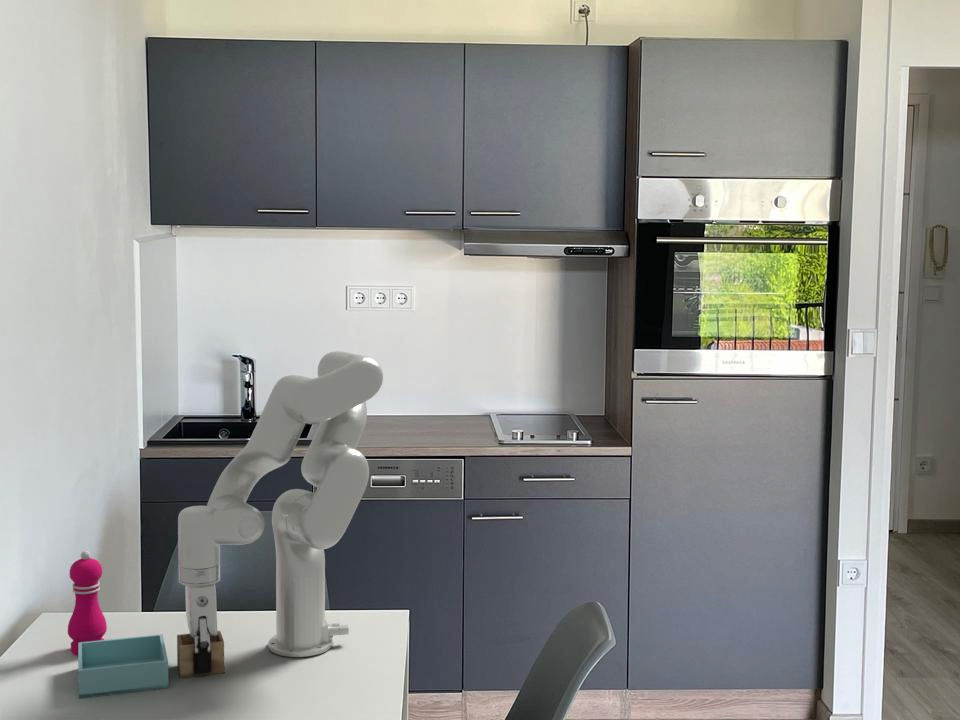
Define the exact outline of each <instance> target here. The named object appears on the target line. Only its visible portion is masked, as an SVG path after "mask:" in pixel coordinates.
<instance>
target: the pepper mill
mask: <svg viewBox="0 0 960 720" xmlns="http://www.w3.org/2000/svg"><path fill="white" fill-rule="evenodd" d="M102 574H103V567H102V564H101V562H99V561H98V560H97V559H95V558H92V557H91V553H90V551H88V550H84V551H82V552H81V554H80V559H77V560H75V561H74V562H73V563H72V564H71V565H70V569H69V578H70V579H71V581H72V582H73V584H72V592H73V594H74V595H75V602H74V608H73V610H72V614H71V616H70V619H69V621H68V626H67V635H68V636H69V637H68V638H70V639H71V640H72V641H71V643H70V653H71V654H72V655H74V656H77V657H78V643H80V642H89V641H99V640H105V639H104V638H103V637H104V636H105V635H106V632H107V629H108V625H107V621H106V617H105V615H104V612H103V611H102V609H101V607H100V604H99V598H98V597H99V595H98V593H99V591H100V589H101V587H100V585H101V583H100V581H99V580H100V579H101V577H102Z"/></svg>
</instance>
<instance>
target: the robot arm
mask: <svg viewBox="0 0 960 720" xmlns="http://www.w3.org/2000/svg"><path fill="white" fill-rule="evenodd" d="M383 381H384V372H383V369H382V368H381V366H380V364H379V363H378V362H377V361H376V360H375V359H373V358H371V357H368V356H367V355H366V356H365V355H361V354H360V355H359V354H355V353H351V352H348V351H347V352H346V351H339V350H335V351H330V352H328V353H325V354H324V355H323V356H322V357H321V359H320V361H319V363H318V365H317V377H315V378H311V377H306V376H301V375H296V374H289V375H286V376H283V377H281V378H280V379H278V380H277V382H275V385H274V386H273V388H272V390H271V392H270V394H269V396H268V399H267V401H266V403H265V405H264V408H263V410H262V411H261V414H260V415H259V416H260V417H259V418H258V421H257V423H256V425H255V428H254V429H253V431H252V434H251V436H250V438H249V440H248V442H247V443H246V445H245V446H244V447H243V448H242V449H241V450H240V451H239V452H238V453H237V454H236V456H235V457H234V458H233V459H232V460H231V461H230V462H229V463H228V465H227V466H226V467H225V468H224V470H223V471H222V472H221V474H220V476H219V477H218V478H217V481H216V483H215V485H214V487H213V489H212V492H211V494H210V495H209V498H208V501H207V503H206V505H193V506H188V507H185V508H183V509H181V511H179V514H178V517H177V535H178V536H177V540H178V541H177V543H178V544H177V545H178V546H177V547H178V553H177V554H178V584H180V585H182V586H185V587H184V588H185V589H184V590H185V594H184V595H185V614H186V623H187V627H188V630H189V634H190V635H191V637H192V638H194V646H195V652H193V672H194V674H201V673H209V672H211V651H210V633H211V636H212V635H214V636H216V635H217V634H218V632H217V631H218V616H217V615H218V613H217V612H218V611H217V591H216V584H217V583H219V582H220V581H221V546H222V545H223V546H224V545H225V546H226V545H227V546H240V545H241V546H242V545H248V544H252V543H253V542H256V541H257V540H258V539H259V538H261V536H262V535H263V533H264V530H265V527H266V522H265V518H264V516H263V514H262V512H261V511H260V510H259V509H257V508H256V507H255V506H253V505H250V504H249V503H247V501H248V498H249V496H250V494H251V492H252V491H253V488H254V487H255V486H256V484H257V483H258V482H259V481H260V479H261V478H263V476H266V475H267V474H268V473H269V472H272V471H273V470H276V469H278V468H280V467H283V466H284V465H286V464H287V463H288V462H289V461H290V460H291V458H292V456H293V452H294V450H295V447H297V446H296V445H297V443H298V442H299V440H300V437H301V434H302V432H303V430H304V428H305V426H306V424H307V425H317V424H319V426H318V428H317V430H316V432H315V434H314V436H313V439H312V440H311V443H310V444H309V446H308V448H307V451H306V453H305V455H304V457H303V458H302V461H301V465H300V466H301V468H300V469H301V475H302V477H303V479H304V480H305V481H306V482H307V483H309V484H310V485H312V486H314V487H316V490H315V492H312V491H309V490H306V489H300V488H294V489H293V488H292V489H289V490H286V491H285V492H283V493H281V495H279V496H278V498H277V499H276V501H275V502H274V504H273V508H272V511H271V524H272V525H271V526H272V531H273V537H274V546H275V558H276V559H275V561H276V563H275V564H276V566H275V567H276V571H275V572H276V573H275V581H276V582H275V583H276V584H275V589H276V591H275V593H276V594H275V595H276V596H275V597H276V599H275V601H276V602H275V603H276V604H275V606H276V608H275V609H276V610H275V612H276V617H275V618H276V622H275V623H276V624H275V625H276V629H275V630H276V633H275V634H274V635H273V636H272V637H270V638H269V640H268V649H269V650H270V651H271V652H272V653H273V654H276V655H278V656H282V657H287V658H304V657H307V658H308V657H313V656H317V655H320V654H324V653H325V652H328V651H329V650H330V649H331V648H332V647H333V637H334V636H344V635H345V636H346V635H349V632H350V631H349V630H350V629H349V625H348V624H344V625H343V624H342V625H340V622H333V623H328V622H327V621H326V619H325V618H326V616H325V615H326V614H325V613H326V612H325V611H326V608H325V607H326V605H325V604H326V602H325V601H326V600H325V598H326V596H325V595H326V592H325V591H326V590H325V589H326V587H325V586H326V584H325V583H326V577H325V575H326V572H325V570H326V559H325V550H326V549H330V548H331V547H333V546H335V545H336V544H337V543H338V542H339V541H340V539H342V537H343V535H344V534H345V533H346V531H347V528H348V527H349V524H350V523H351V520H352V519H353V517H354V514H355V512H356V510H357V508H358V506H359V504H360V502H361V500H362V498H363V495H364V493H365V491H366V489H367V486H368V483H369V479H370V478H369V477H370V467H369V462H368V460H367V458H366V457H365V456H364V454H363V453H362V452H360V451H359V450H357V448H358V444H359V443H360V439H361V438H362V435H363V433H364V431H365V427H366V424H367V418H368V417H367V416H368V409H367V407H368V406H367V401H369V400H370V399H372V398H373V397H374V396H376V395H377V393H378V392H379V391H380V389H381V387H382V386H383V383H384V382H383ZM196 633H200V636H197V635H196ZM199 639H200V642H199V643H198V640H199Z"/></svg>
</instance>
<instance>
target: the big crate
mask: <svg viewBox="0 0 960 720" xmlns="http://www.w3.org/2000/svg"><path fill="white" fill-rule="evenodd" d="M163 634H164V633H163ZM163 634H162V633H161V634H160V633H158V634H151V635H139V636H131V637H121V638H111V639H110V638H109V639H104V640H99V641H89V642H80V643H78V656H77V658H78V662H77V663H78V664H77V665H78V670H77V671H78V673H77V674H78V698H79V699H84V698H83V697H86V698H92V696H95V697H101V696H100V695H103V696H109V695H110V694H112V695H119V694H120V695H121V694H126V693H135V692H136V693H137V692H138V693H139V692H145V691H152V690H153V691H155V690H160V689H161V690H162V689H168V688H169V659H168V655H167V649H166V644H165V640H164V635H163Z"/></svg>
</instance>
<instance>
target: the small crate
mask: <svg viewBox="0 0 960 720" xmlns="http://www.w3.org/2000/svg"><path fill="white" fill-rule="evenodd" d="M217 632H218V634H217V635H216V636H214V635H212V636H211V633H210V651H211V672H209V673H201V674H194V672H193V652H195V646H194V638H192V637H191V635H190V633H183V634H180V633H179V634H176V653H177V654H176V655H177V656H176V657H177V660H176V661H177V663H176V664H177V669H178V670H177V671H178V675H179V678H180V679H185V678H192V677H202V676H209V675H211V676H213V675H219V674H220V673H221V674H225V641H224V638H223V635H222V632H221V630H217ZM196 635H197V636H200V633H196ZM199 642H200V639H199V640H198V643H199ZM184 677H185V678H184Z"/></svg>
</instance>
